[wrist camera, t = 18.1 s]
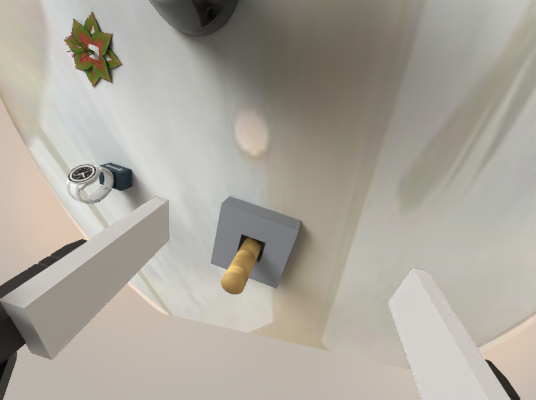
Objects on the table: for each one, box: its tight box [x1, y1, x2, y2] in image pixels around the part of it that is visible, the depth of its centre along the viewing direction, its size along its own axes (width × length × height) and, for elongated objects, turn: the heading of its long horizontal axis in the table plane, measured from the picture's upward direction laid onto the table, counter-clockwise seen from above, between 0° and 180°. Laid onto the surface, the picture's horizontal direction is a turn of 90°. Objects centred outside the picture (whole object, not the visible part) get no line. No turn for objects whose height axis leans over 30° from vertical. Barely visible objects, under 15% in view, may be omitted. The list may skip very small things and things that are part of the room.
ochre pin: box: [221, 236, 264, 294], centre depth 42 cm, size 4×4×14 cm
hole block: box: [211, 196, 301, 288], centre depth 47 cm, size 16×16×4 cm
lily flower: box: [64, 12, 121, 87], centre depth 39 cm, size 12×12×5 cm
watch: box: [67, 163, 132, 204], centre depth 46 cm, size 6×8×11 cm
